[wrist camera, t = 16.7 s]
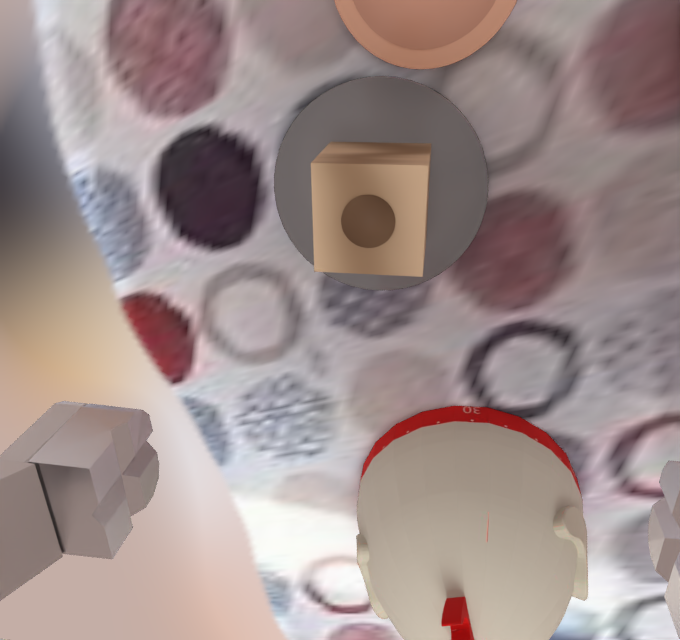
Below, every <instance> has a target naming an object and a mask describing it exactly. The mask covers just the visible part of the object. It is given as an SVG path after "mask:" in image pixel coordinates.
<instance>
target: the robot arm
mask: <svg viewBox="0 0 680 640" xmlns="http://www.w3.org/2000/svg"><path fill="white" fill-rule="evenodd" d="M152 431H153V429H152V425H151V421H150V417H149V414H147V413H146V412H145V411H143V410H138V409H130V408H121V407H113V406H105V405H97V404H96V405H95V404H85V403H76V402H66V401H63V402H59V403H55V404H54V405H53V406H52V407H51V408H50V409H49V410H47V411H46V413H44V414H43V415H42V416H41V417H40V418H39V419H38V420H37V421H36V422H35V423H34V424H33V425H32V426H31V427H30V428H29V429H27V430H26V431H25V432H24V433H23V434H22V435H21V436H20V437H19V438H18V439H17V440H16V441H15V442H14V443H13V444H12V445H10V446H9V447H8V448H7V449H6V450H5V451H4V452H3V453H2V454H1V455H0V601H1V600H2V599H3V598H5V597H6V596H8V595H9V594H11V593H12V592H13V591H15V590H16V589H18V588H19V587H20V586H22V585H23V584H25V583H26V582H27V581H29V580H30V579H32V578H33V577H35V576H36V575H37V574H39V573H40V572H42V571H43V570H45V569H46V568H47V567H49V566H50V565H52V564H53V563H54V562H56V561H57V560H59V559H60V558H62V554H69V555H79V556H88V557H97V558H106V559H113V557H114V556H115V554H116V553H117V551H118V550H119V548H120V547H121V545H122V544H123V542H124V541H125V539H126V538H127V536H128V534H129V533H130V531H131V530H132V528H133V526H132V522H131V516H132V515H134V514H136V513H137V512H139V511H141V510H142V509H144V508H146V506H147V505H148V503H149V501H150V500H151V498H152V497H153V495H154V492H155V488H156V485H157V481H158V477H159V461H158V456H157V452H156V451H155V450H154V449H153V447H152V446H151V445H150V444H149V443H148V442H147V441H146V440H147V439H148V438H149V436H150V434H151V433H152ZM659 483H660V486H661V488H662V490H663V493H664V495H665V497H664V498H662V499H661V500H659V501H658V502H657V503H655V504H654V505H653V506H652V510H651V514H650V519H649V523H648V544H649V550H650V556H651V559H652V562H653V565H654V568H655V571H656V572H657V573H659V574H660V575H661V576H662V577H663V578H664V579H665V580H666V581H668V582H669V583H668V586H667V590H666V593H665V596H664V597H665V600H666V603H667V606H668V609H669V611H670V614H671V617H672V620H673V623H674V626H675V628H676V631H677V634H678V637H679V639H680V462H679V461H668V462H667V464H666V465H665V466H664V468H663V471H662V474H661V477H660V481H659ZM0 640H8V639H2V638H0Z"/></svg>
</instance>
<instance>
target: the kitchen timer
mask: <svg viewBox="0 0 680 640" xmlns="http://www.w3.org/2000/svg"><path fill="white" fill-rule="evenodd" d="M357 521H358V527H359V532H360V534H358V535H357V536H356V539H357V563H358V565H359V568H360V570H361V573H362V576H363V579H364V582H365V585H366V589H367V592H368V596H369V600H370V603H371V606H372V608H373V610H374V612H375V613H376V615H377V616H378V617H380V618H382V619H387V618H388V617H389V619H390V620H391V622H392V623H393V625H394V626H395V628H396V630H397V631H398V632H399V634H400V635H401V636H402V638H403V639H404V640H549V639H550V637H551V636H552V635H553V633H554V632H555V631H556V629H557V627H558V626H559V624H560V622H561V620H562V618H563V616H564V614H565V612H566V609H567V606H568V604H569V601H570V599H571V596H573V597H576V598H578V599H581V600H584V601H585V600H586V599H587V596H588V567H587V530H586V524H585V521H584V518H583V503H582V496H581V492H580V488H579V485H578V481H577V478H576V475H575V473H574V471H573V468H572V466H571V464H570V462H569V459H568V457H567V455H566V453H565V452H564V451H563V450H562V449H561V448H560V447H559V446H558V445H557V444H556V443H555V441H554V440H553V439H552V438H551V437H550V436H549V435H548V434H547V433H546V432H544V431H542V430H541V429H539V428H537V427H536V426H534V425H532V424H531V423H529V422H527V421H526V420H524V419H522V418H521V417H518V416H515V415H512V414H508V413H505V412H501V411H498V410H495V409H491V408H488V407H468V406H451V407H445V408H440V409H435V410H429V411H424V412H421V413H419V414H417V415H415V416H413V417H411V418H408V419H406V420H404V421H402V422H400V423H398V424H396V425H395V426H393V427H392V428H391V429H390V430H389V431H388V432H387V433H386V434H385V435H383V436H382V437H381V438H380V439H379V440H378V441H377V442H376V443H375V445H374V446H373V448H372V450H371V452H370V454H369V455H368V457H367V459H366V461H365V463H364V465H363V470H362V476H361V481H360V488H359V495H358V502H357Z"/></svg>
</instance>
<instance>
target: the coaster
mask: <svg viewBox="0 0 680 640" xmlns="http://www.w3.org/2000/svg"><path fill="white" fill-rule="evenodd" d="M330 142H378V143H431V161H430V180H429V198H428V217H427V236H426V248H425V258H424V268H423V277H416V276H395V275H375V274H355V273H334V272H323V273H325V274H326V275H327V276H329V277H331V278H333V279H335V280H337V281H339V282H342V283H345V284H348V285H350V286H354V287H358V288H362V289H370V290H395V289H403V288H407V287H411V286H414V285H417V284H420V283H422V282H425V281H428V280H429V279H431V278H433V277H435V276H437V275H439V274H440V273H441V272H443V271H444V270H446V269H447V268H448V267H450V266H451V265H452V264H453V263H454V262H455V261H456V260H457V259H458V258H459V257H460V256H461V255H462V254H463V253H464V252H465V250H466V249H467V248H468V247H469V245H470V243H471V242H472V240H473V239H474V237H475V236H476V233H477V231H478V229H479V227H480V225H481V223H482V219H483V216H484V213H485V210H486V204H487V198H488V173H487V165H486V161H485V157H484V153H483V149H482V147H481V144H480V142H479V139H478V137H477V135H476V133H475V132H474V130H473V128H472V126H471V125H470V123H469V122H468V120H467V119H466V118H465V116H464V115H463V114H462V113H461V111H460V110H459V109H458V108H456V107H455V106H454V105H453V104H452V103H451V102H450V101H449V100H448V99H446V98H445V97H444V96H442V95H441V94H439V93H438V92H436V91H434V90H433V89H431V88H429V87H427V86H425V85H422V84H420V83H417V82H414V81H412V80H408V79H403V78H398V77H388V76H374V77H364V78H360V79H355V80H351V81H348V82H346V83H343V84H340V85H338V86H336V87H334V88H332V89H330V90H328V91H326V92H325V93H323V94H322V95H320V96H319V97H318V98H316V99H315V100H314V101H312V102H311V103H310V104H309V105H308V106H307V107H306V108H305V109H304V110H303V111H302V112H301V113H300V114H299V115H298V117H297V118H296V119H295V120H294V122H293V123H292V125H291V126H290V128H289V130H288V131H287V133H286V135H285V137H284V139H283V142H282V144H281V146H280V149H279V153H278V156H277V160H276V166H275V173H274V192H275V200H276V205H277V209H278V213H279V216H280V219H281V221H282V224H283V226H284V229H285V230H286V232H287V234H288V236H289V238H290V240H291V241H292V242H293V244H294V245H295V247H296V248H297V249H298V251H299V252H300V253H301V254H302V255H303V256H304V257H305V258H306V259H307V260H308V261H309V262H310V263H311V264H312V265H313V266H314V246H313V215H312V185H311V162H312V161H313V160H314V159H315V158H316V157H317V156H318V155H319V154H320V153H321V152H322V150H323V149H324V148H325V147H326V146H327V145H328V144H329V143H330Z"/></svg>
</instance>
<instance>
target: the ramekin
mask: <svg viewBox="0 0 680 640" xmlns="http://www.w3.org/2000/svg"><path fill="white" fill-rule="evenodd" d="M334 1H335V4H336V7H337V9H338V12H339V14H340V16H341V18H342V20H343V22H344V23H345V25H346V27H347V28H348V30H349V31H350V33H351V34H352V35H353V36H354V38H355V39H356V40H357V41H358V42H359V43H360V44H361V45H362V46H363V47H364V48H365V49H366V50H368V51H369V52H371V53H372V54H373V55H375V56H376V57H378V58H380V59H382V60H384V61H386V62H388V63H391V64H393V65H396V66H400V67H405V68H409V69H432V68H438V67H443V66H447V65H449V64H452V63H455V62H458V61H460V60H462V59H464V58H466V57H468V56H470V55H471V54H472V53H474V52H475V51H477V50H478V49H480V48H481V47H482V46H483V45H484V44H486V43H487V42H488V41H489V40H490V39H491V38H492V37H493V36H494V35H495V34H496V33H497V31H498V30H499V29H500V28H501V27H502V25H503V24H504V22H505V21H506V19H507V18H508V17H509V15H510V13H511V11H512V9H513V8H514V6H515V4H516V2H517V0H334Z"/></svg>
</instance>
